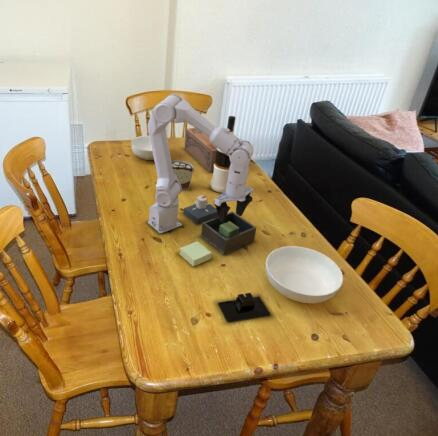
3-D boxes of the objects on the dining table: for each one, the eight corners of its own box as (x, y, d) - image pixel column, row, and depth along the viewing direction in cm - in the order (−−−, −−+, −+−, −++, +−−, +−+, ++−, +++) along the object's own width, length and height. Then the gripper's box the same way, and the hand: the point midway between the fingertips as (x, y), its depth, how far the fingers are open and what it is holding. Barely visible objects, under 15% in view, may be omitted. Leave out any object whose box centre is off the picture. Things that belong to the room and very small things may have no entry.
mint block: (193, 266, 125) (194, 260, 124) (179, 254, 130) (180, 248, 128) (210, 259, 128) (211, 252, 127) (196, 247, 133) (197, 241, 132)
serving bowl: (247, 271, 124) (251, 253, 120) (304, 257, 130) (310, 240, 126) (290, 321, 108) (296, 302, 104) (352, 302, 114) (360, 284, 110)
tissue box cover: (238, 167, 182) (242, 146, 176) (209, 172, 177) (212, 151, 172) (211, 145, 202) (213, 125, 196) (184, 148, 197) (186, 128, 192)
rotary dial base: (197, 224, 144) (197, 218, 142) (180, 211, 150) (181, 205, 149) (218, 216, 149) (219, 210, 147) (201, 204, 155) (202, 198, 154)
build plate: (258, 297, 115) (262, 285, 113) (271, 316, 109) (274, 304, 107) (217, 303, 112) (219, 291, 110) (227, 323, 107) (230, 311, 104)
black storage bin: (223, 255, 130) (226, 240, 127) (200, 236, 138) (202, 222, 135) (253, 241, 137) (256, 227, 133) (229, 225, 144) (232, 211, 141)
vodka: (213, 180, 171) (222, 110, 154) (235, 185, 168) (247, 114, 151) (207, 190, 164) (216, 118, 147) (230, 196, 161) (242, 122, 144)
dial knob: (200, 210, 147) (201, 200, 145) (194, 205, 150) (195, 196, 147) (208, 207, 149) (209, 198, 147) (201, 202, 151) (202, 193, 149)
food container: (192, 182, 169) (195, 160, 163) (192, 190, 164) (195, 167, 158) (162, 180, 170) (164, 158, 164) (161, 187, 165) (163, 165, 159)
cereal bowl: (147, 168, 178) (148, 153, 175) (123, 155, 188) (123, 141, 185) (175, 157, 188) (176, 143, 184) (150, 146, 198) (151, 132, 194)
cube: (227, 243, 134) (229, 232, 132) (218, 236, 137) (219, 225, 135) (237, 238, 136) (239, 227, 134) (227, 232, 139) (229, 221, 137)
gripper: (228, 192, 119) (221, 230, 126) (263, 180, 126) (255, 217, 133) (212, 182, 124) (206, 219, 131) (246, 171, 130) (239, 207, 138)
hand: (230, 218), depth 133 cm, fingers open, 7 cm apart
